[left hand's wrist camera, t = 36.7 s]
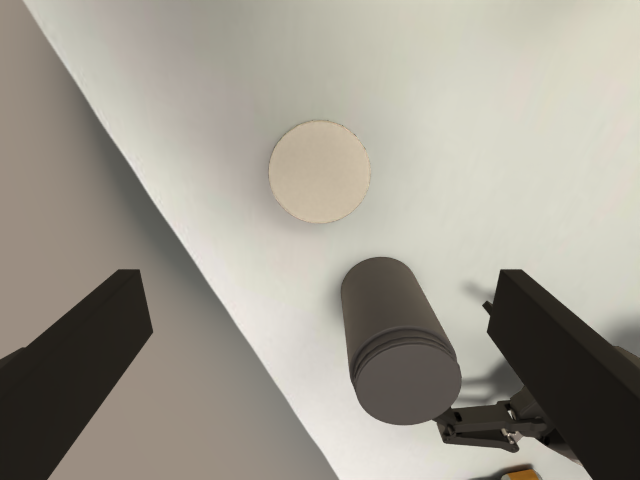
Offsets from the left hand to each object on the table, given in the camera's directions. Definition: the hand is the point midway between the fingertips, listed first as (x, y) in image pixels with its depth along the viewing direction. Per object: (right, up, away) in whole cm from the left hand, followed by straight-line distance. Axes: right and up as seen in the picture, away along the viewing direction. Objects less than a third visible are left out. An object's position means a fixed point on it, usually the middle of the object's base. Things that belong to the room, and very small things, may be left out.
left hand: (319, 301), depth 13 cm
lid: (0, +9, +23) cm, 25 cm away
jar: (+7, -4, +30) cm, 31 cm away
